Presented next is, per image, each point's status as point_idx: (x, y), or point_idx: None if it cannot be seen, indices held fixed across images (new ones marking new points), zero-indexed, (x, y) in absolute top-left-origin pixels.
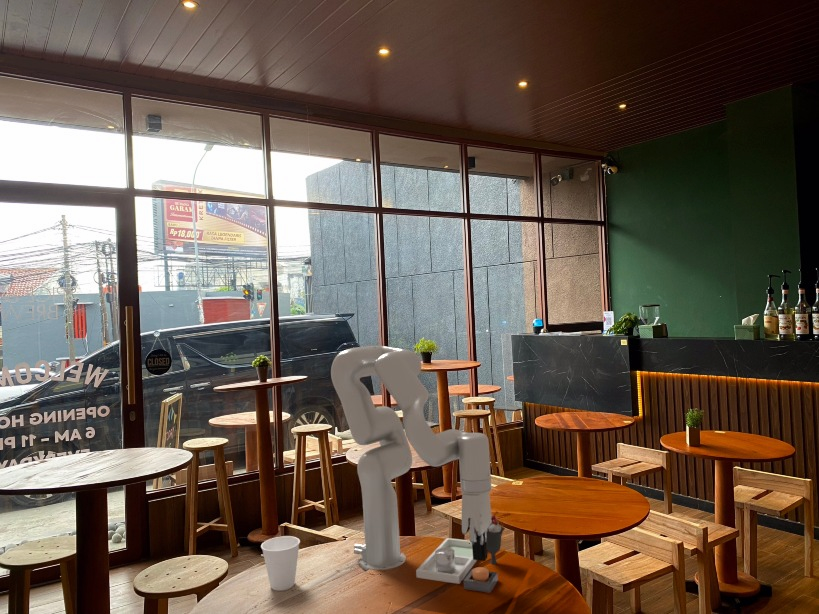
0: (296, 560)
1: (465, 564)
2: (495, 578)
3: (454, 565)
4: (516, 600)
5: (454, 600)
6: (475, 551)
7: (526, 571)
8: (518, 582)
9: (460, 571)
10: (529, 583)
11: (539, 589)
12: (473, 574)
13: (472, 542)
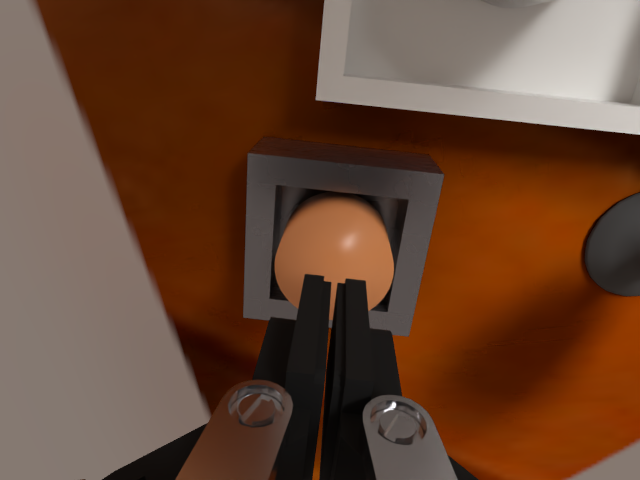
0: None
1: (541, 100)
2: None
3: (524, 2)
4: None
5: (157, 99)
6: (259, 354)
7: (568, 401)
8: (438, 379)
9: (402, 90)
10: (433, 419)
11: None
12: (292, 224)
13: (219, 412)
